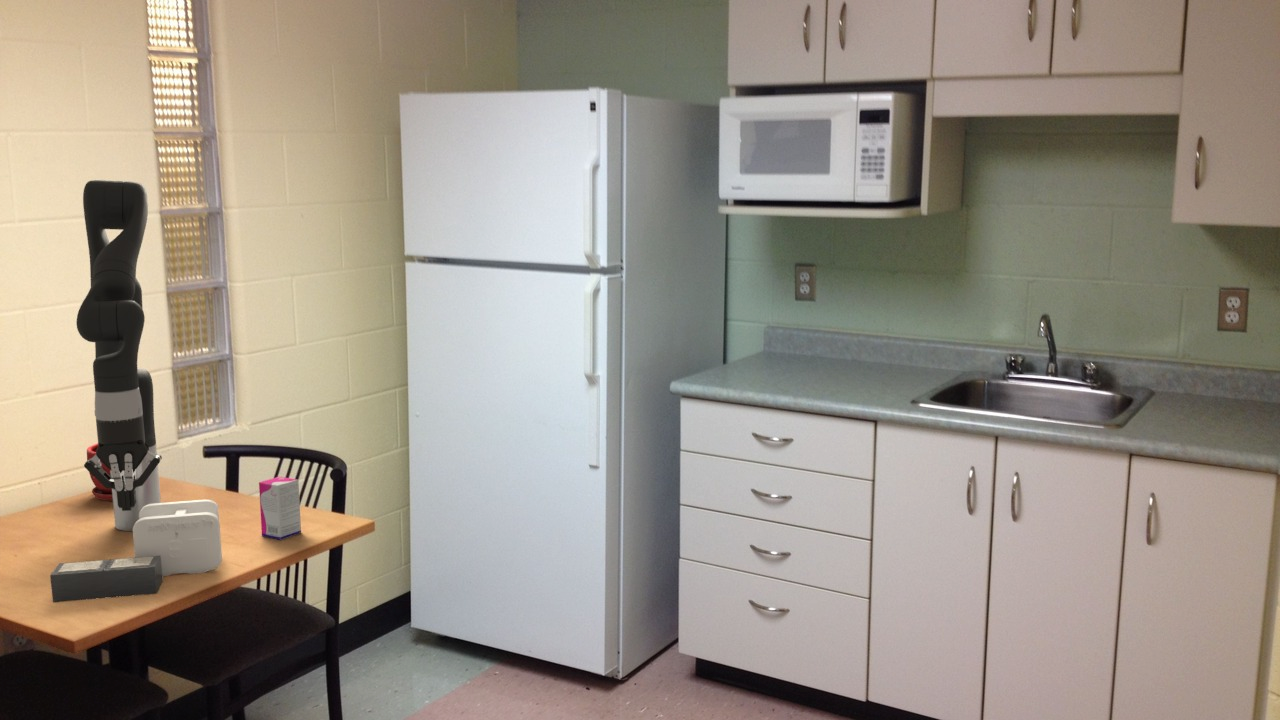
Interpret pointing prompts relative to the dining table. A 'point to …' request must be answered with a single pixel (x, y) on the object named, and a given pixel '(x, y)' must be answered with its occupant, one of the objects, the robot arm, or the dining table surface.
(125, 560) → the block
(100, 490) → the plant pot
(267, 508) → the supplement box
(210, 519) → the cable organizer
